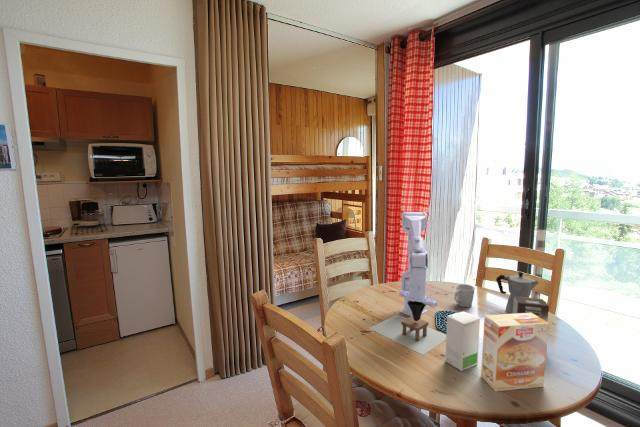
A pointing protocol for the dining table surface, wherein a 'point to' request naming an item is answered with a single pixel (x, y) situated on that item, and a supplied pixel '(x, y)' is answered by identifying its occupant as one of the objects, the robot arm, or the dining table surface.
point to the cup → (464, 295)
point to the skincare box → (462, 340)
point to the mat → (409, 335)
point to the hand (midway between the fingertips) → (416, 319)
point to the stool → (415, 326)
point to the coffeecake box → (514, 351)
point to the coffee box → (531, 306)
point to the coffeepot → (516, 288)
